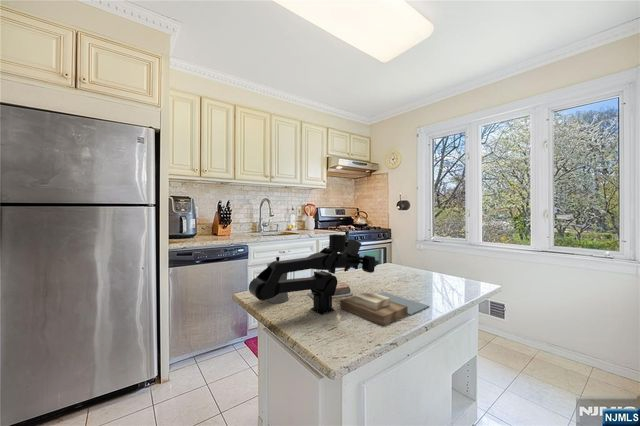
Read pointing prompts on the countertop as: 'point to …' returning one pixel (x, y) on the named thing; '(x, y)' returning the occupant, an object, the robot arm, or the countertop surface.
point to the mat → (406, 303)
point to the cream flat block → (372, 300)
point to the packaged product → (338, 291)
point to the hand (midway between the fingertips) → (370, 260)
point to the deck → (375, 311)
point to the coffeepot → (282, 296)
